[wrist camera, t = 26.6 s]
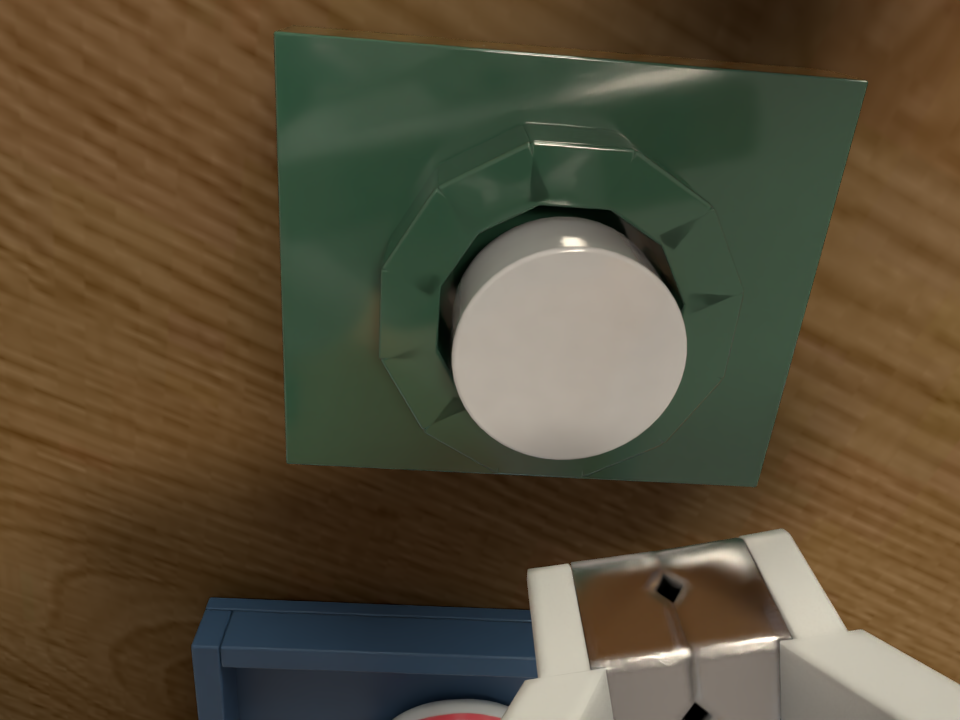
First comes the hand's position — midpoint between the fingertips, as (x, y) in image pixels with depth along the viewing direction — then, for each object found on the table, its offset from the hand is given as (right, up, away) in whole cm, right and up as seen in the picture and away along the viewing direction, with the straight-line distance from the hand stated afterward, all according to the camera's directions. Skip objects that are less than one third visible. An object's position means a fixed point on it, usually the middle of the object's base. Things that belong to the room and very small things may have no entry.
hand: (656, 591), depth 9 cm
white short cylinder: (0, +4, +7) cm, 8 cm away
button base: (-1, +5, +10) cm, 12 cm away
